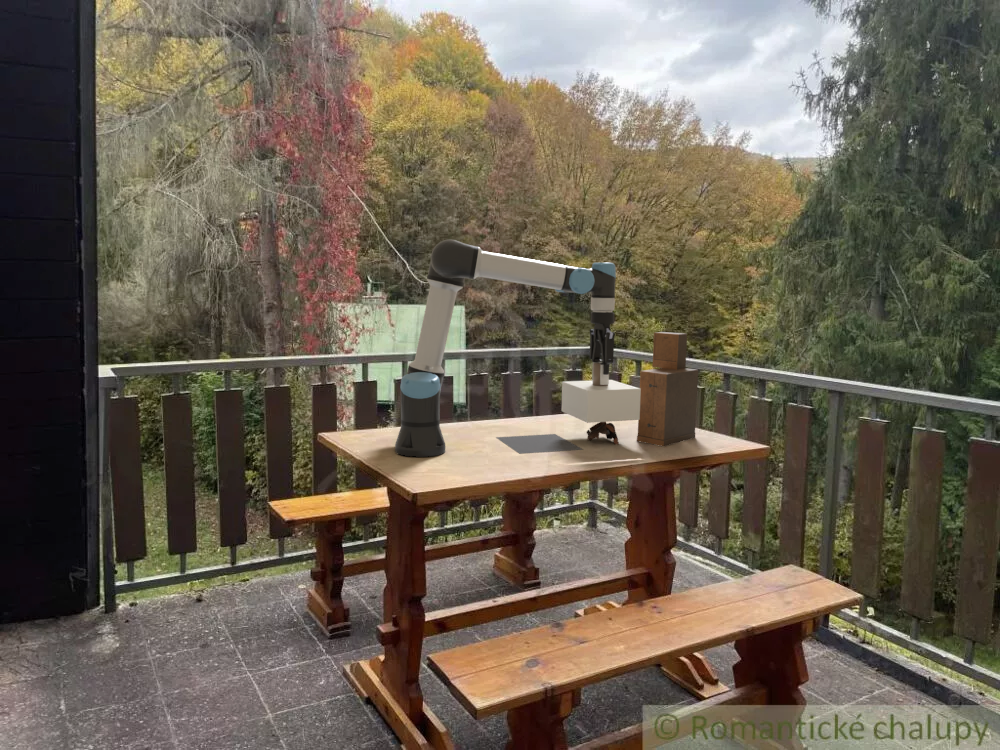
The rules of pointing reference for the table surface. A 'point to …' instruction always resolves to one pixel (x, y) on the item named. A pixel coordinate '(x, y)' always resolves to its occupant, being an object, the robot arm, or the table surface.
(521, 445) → the mat
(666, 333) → the wooden block stack
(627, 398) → the cover
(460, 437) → the table surface
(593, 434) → the brown curved piece
